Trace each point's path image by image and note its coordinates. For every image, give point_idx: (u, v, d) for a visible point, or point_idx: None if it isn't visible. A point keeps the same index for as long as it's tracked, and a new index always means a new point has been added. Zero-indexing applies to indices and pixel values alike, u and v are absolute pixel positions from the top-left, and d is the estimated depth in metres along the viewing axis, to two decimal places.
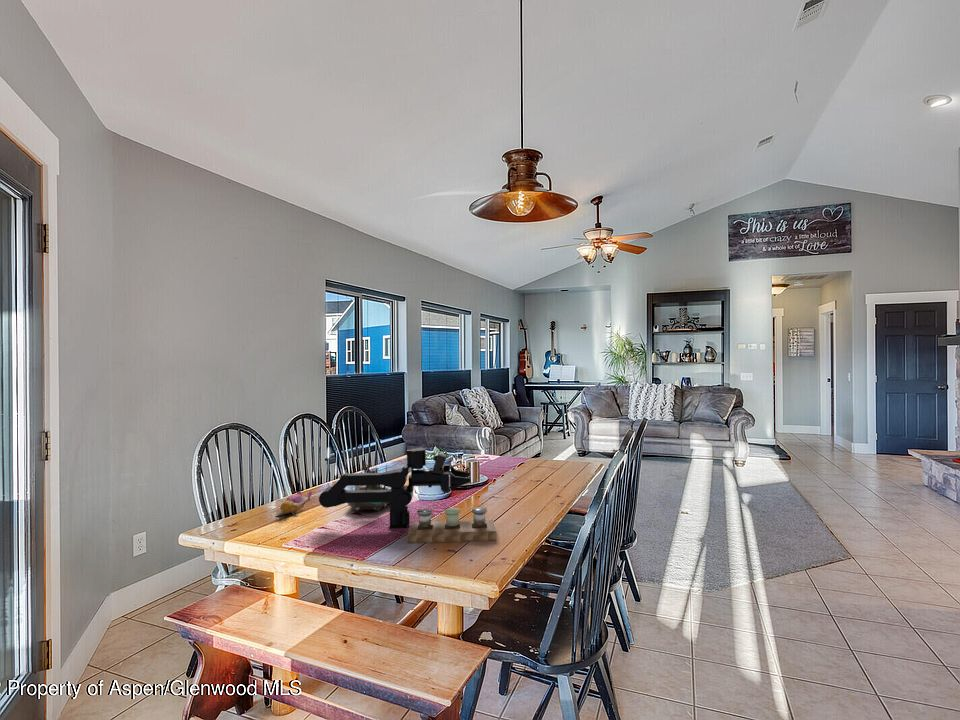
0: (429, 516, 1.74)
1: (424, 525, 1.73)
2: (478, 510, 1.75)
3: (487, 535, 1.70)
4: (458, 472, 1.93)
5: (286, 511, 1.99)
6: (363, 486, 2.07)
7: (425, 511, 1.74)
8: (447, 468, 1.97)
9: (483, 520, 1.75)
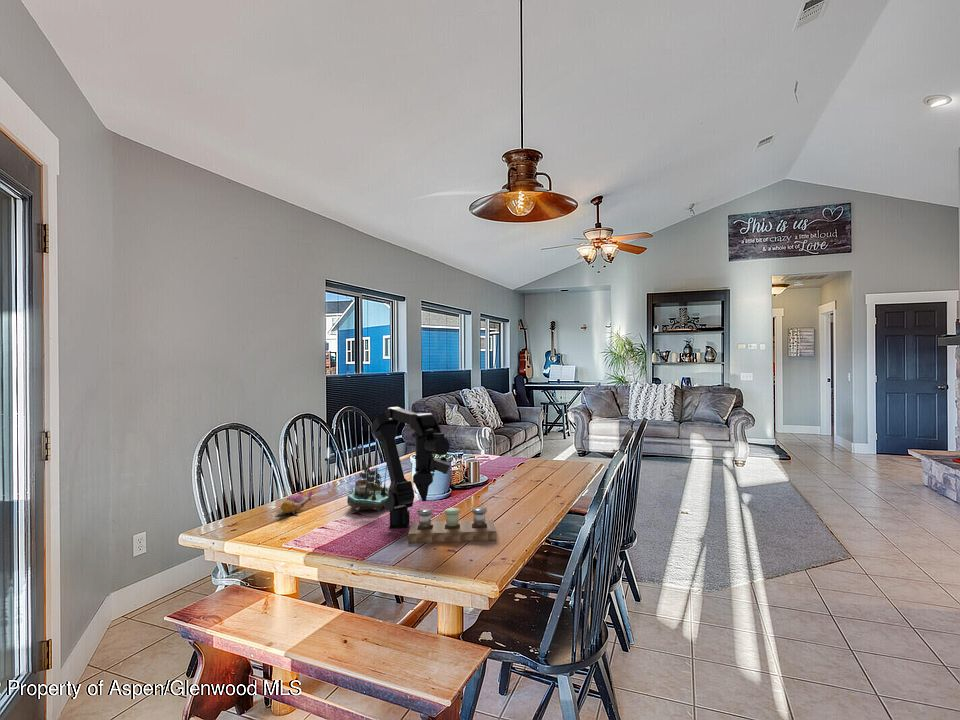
0: (429, 516, 1.74)
1: (424, 525, 1.73)
2: (478, 510, 1.75)
3: (487, 535, 1.70)
4: None
5: (286, 511, 1.99)
6: (363, 486, 2.07)
7: (425, 511, 1.74)
8: None
9: (483, 520, 1.75)
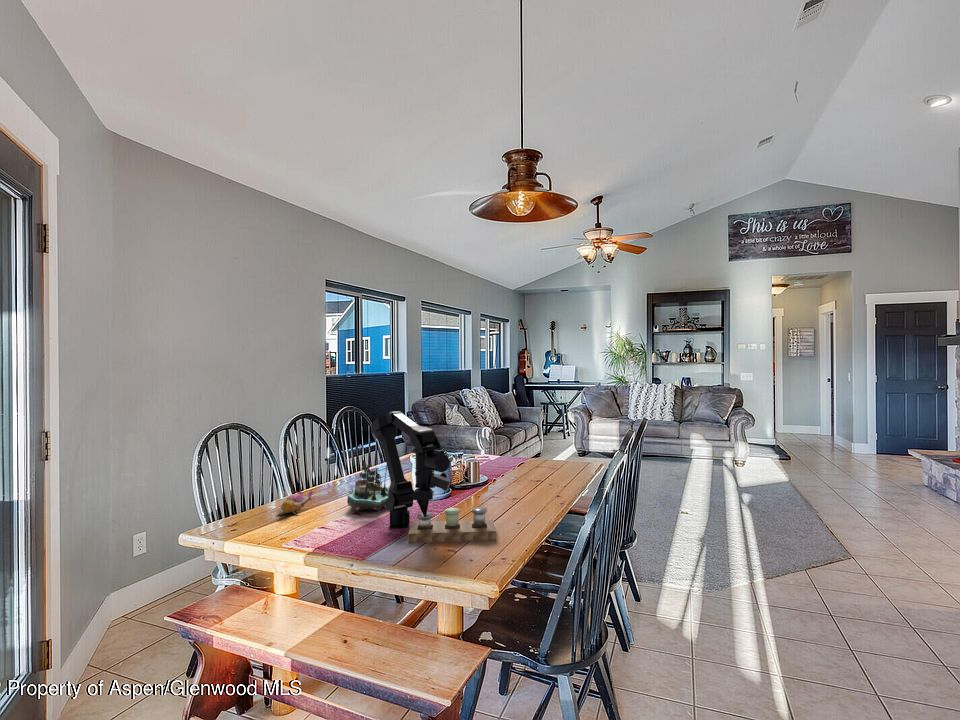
0: (429, 520, 1.74)
1: (424, 529, 1.73)
2: (478, 510, 1.75)
3: (487, 535, 1.70)
4: None
5: (287, 510, 1.99)
6: (363, 486, 2.07)
7: (425, 515, 1.74)
8: None
9: (483, 520, 1.75)
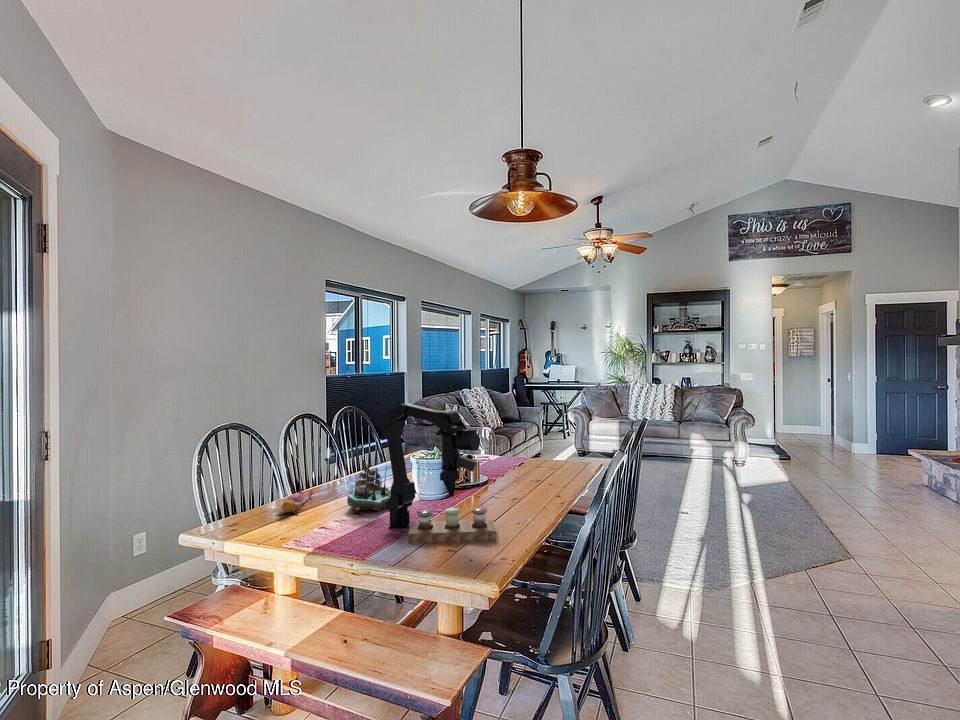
0: (429, 517, 1.74)
1: (424, 526, 1.73)
2: (478, 510, 1.75)
3: (487, 535, 1.70)
4: None
5: (287, 510, 2.00)
6: (363, 486, 2.07)
7: (425, 512, 1.74)
8: None
9: (483, 520, 1.75)
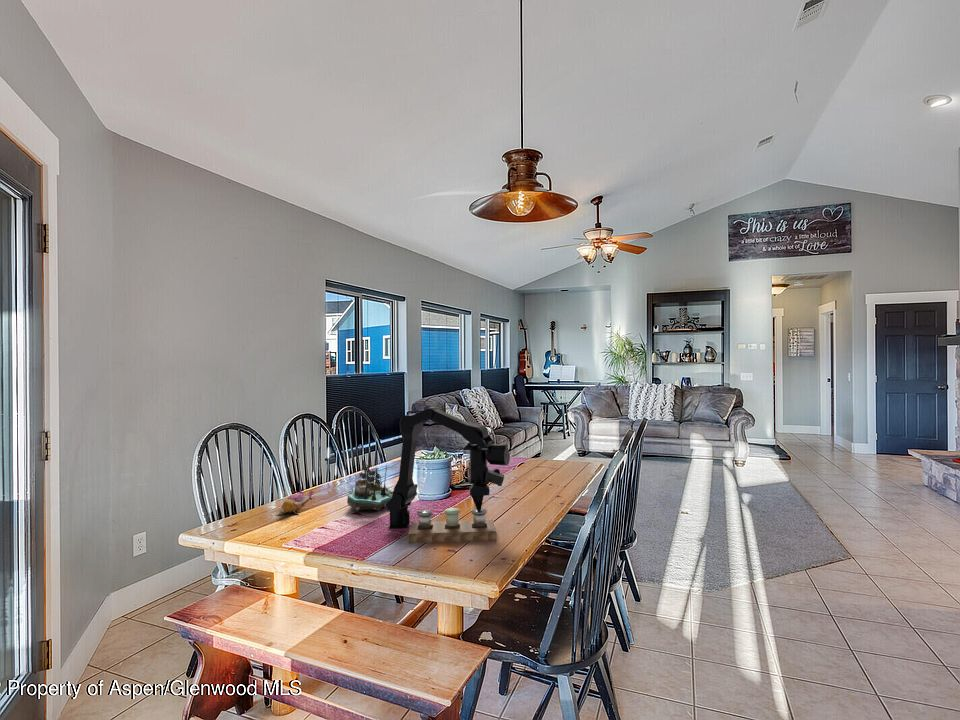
0: (429, 517, 1.74)
1: (424, 526, 1.73)
2: (478, 511, 1.75)
3: (487, 535, 1.70)
4: None
5: (287, 510, 2.00)
6: (363, 486, 2.07)
7: (425, 512, 1.74)
8: None
9: (483, 521, 1.75)
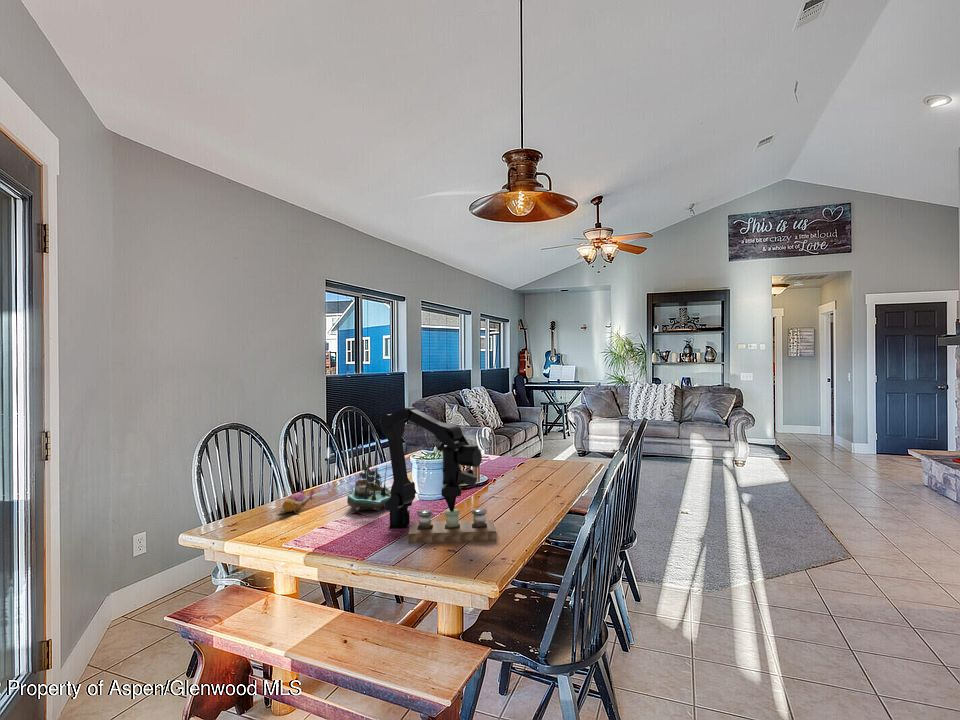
0: (429, 517, 1.74)
1: (424, 526, 1.73)
2: (478, 511, 1.75)
3: (487, 535, 1.70)
4: None
5: (288, 509, 2.01)
6: (363, 486, 2.07)
7: (425, 512, 1.74)
8: None
9: (483, 521, 1.75)
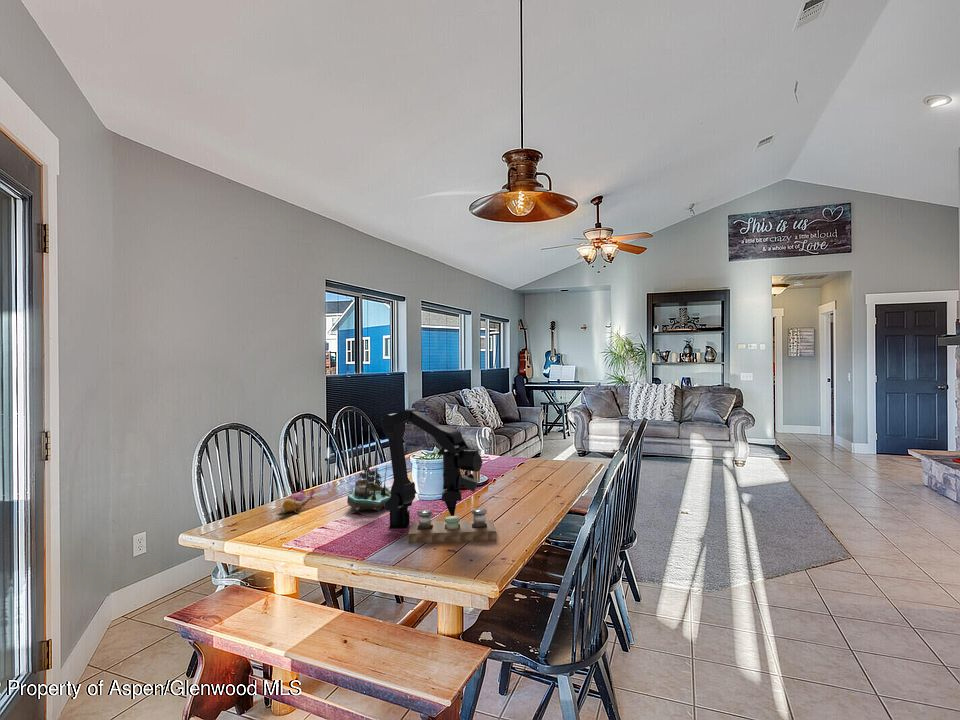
0: (429, 517, 1.74)
1: (424, 526, 1.73)
2: (478, 511, 1.75)
3: (487, 535, 1.70)
4: None
5: (288, 509, 2.01)
6: (363, 486, 2.07)
7: (425, 512, 1.74)
8: None
9: (483, 521, 1.75)
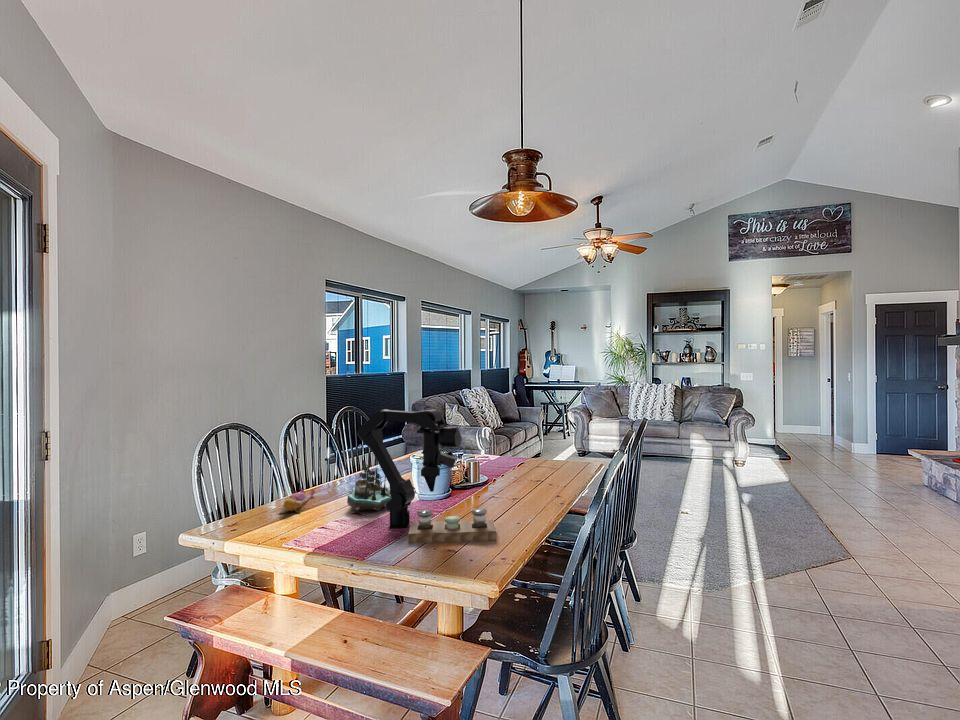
0: (429, 517, 1.74)
1: (424, 526, 1.73)
2: (478, 511, 1.75)
3: (487, 535, 1.70)
4: None
5: (289, 509, 2.02)
6: (363, 486, 2.07)
7: (425, 512, 1.74)
8: None
9: (483, 521, 1.75)
